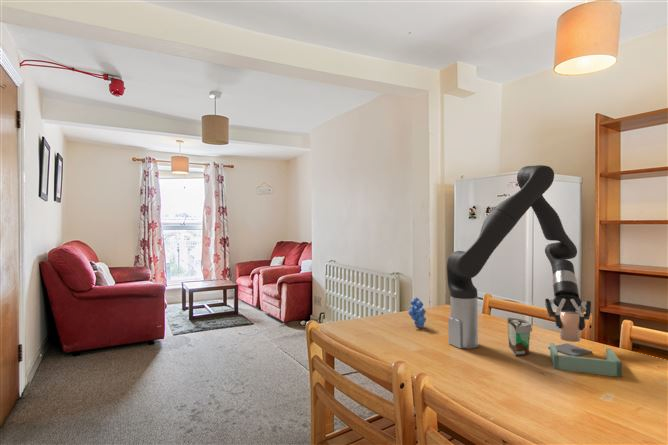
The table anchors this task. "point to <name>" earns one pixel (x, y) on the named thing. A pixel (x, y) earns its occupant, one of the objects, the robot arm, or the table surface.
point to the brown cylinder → (570, 326)
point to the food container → (519, 336)
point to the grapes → (417, 312)
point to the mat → (571, 350)
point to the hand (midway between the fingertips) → (570, 327)
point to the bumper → (587, 363)
